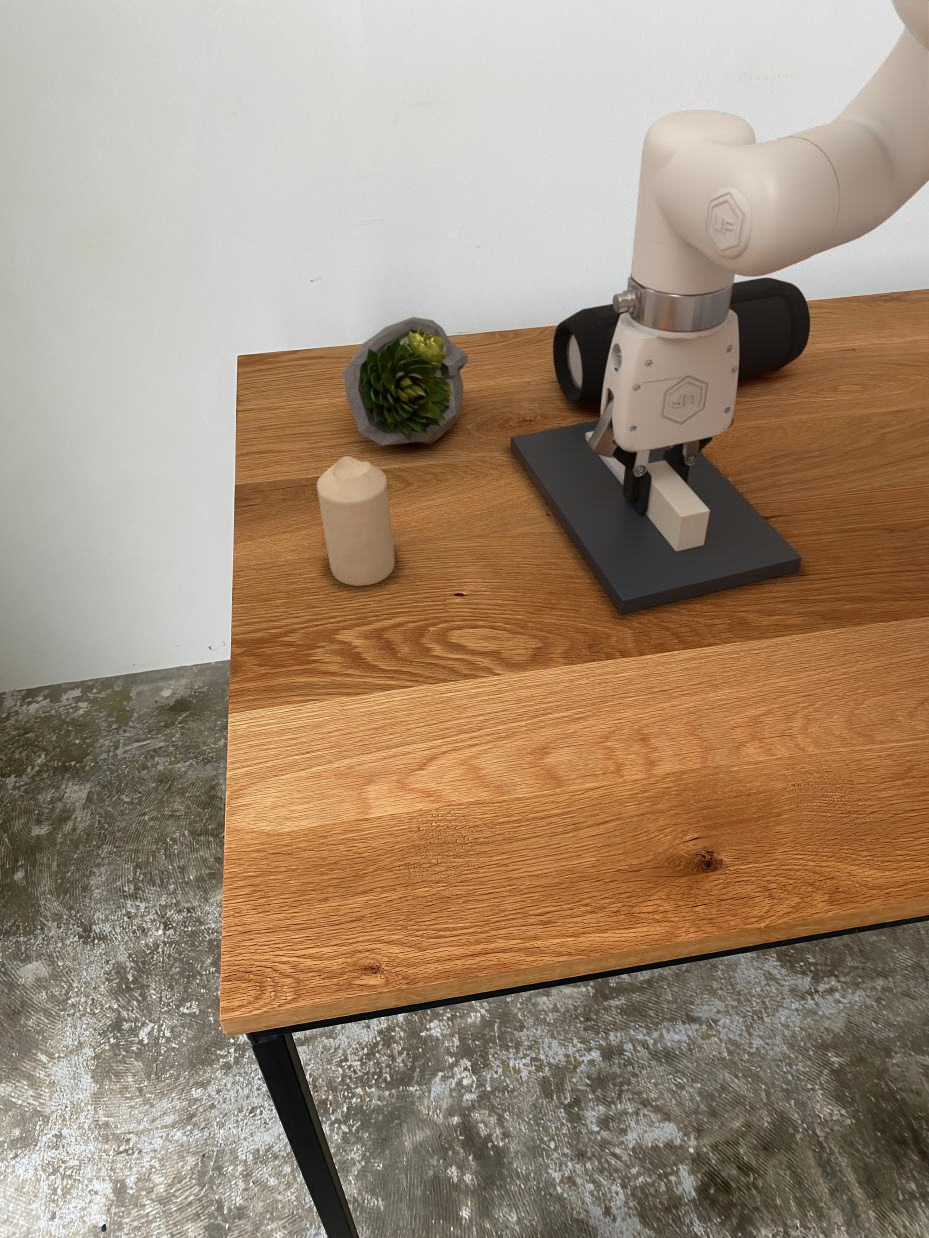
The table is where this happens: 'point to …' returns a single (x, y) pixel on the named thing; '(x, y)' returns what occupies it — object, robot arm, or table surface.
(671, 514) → the white stepped bar
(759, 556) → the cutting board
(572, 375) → the portable speaker
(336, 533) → the candle
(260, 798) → the table surface
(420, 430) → the potted plant
